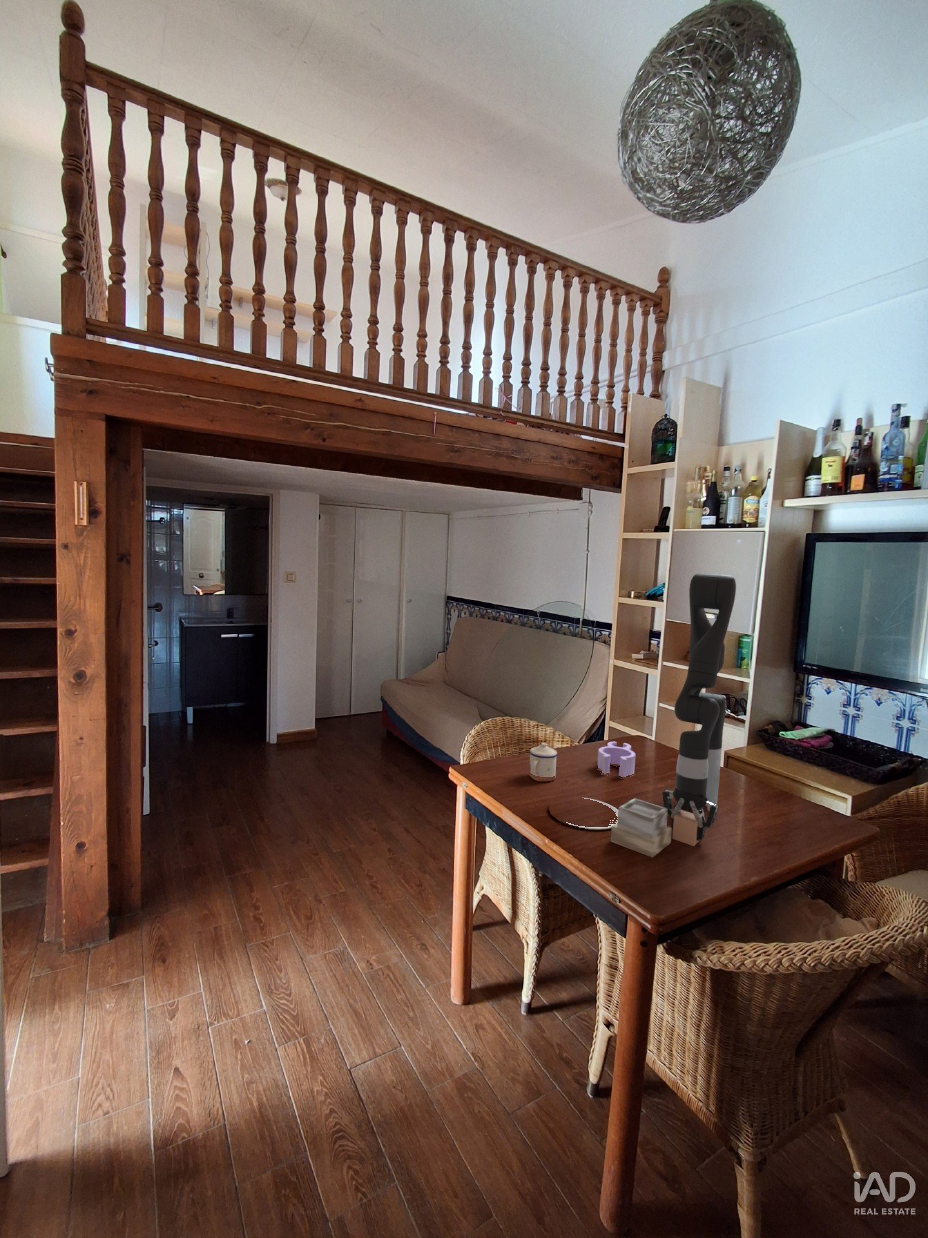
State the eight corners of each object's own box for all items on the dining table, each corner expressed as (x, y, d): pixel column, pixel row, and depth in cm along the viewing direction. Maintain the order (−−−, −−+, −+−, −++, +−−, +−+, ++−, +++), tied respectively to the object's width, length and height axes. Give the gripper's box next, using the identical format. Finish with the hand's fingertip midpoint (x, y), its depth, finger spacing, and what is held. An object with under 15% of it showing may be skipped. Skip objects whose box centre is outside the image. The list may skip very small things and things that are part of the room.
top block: (680, 832, 149) (682, 810, 148) (701, 839, 145) (703, 817, 145) (672, 838, 145) (674, 816, 144) (693, 846, 141) (695, 823, 141)
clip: (601, 758, 209) (603, 740, 209) (636, 763, 205) (637, 744, 204) (594, 775, 190) (595, 755, 190) (632, 781, 186) (633, 761, 186)
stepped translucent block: (630, 828, 150) (632, 795, 149) (670, 843, 142) (673, 808, 142) (610, 841, 142) (613, 807, 141) (652, 857, 134) (655, 821, 134)
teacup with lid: (535, 771, 191) (537, 737, 190) (560, 777, 186) (562, 743, 185) (519, 781, 181) (521, 746, 180) (544, 788, 176) (546, 751, 175)
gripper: (726, 776, 142) (720, 841, 143) (670, 762, 151) (665, 822, 153) (716, 784, 136) (710, 850, 137) (658, 768, 146) (654, 831, 147)
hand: (687, 835), depth 145 cm, fingers closed on top block, 5 cm apart
